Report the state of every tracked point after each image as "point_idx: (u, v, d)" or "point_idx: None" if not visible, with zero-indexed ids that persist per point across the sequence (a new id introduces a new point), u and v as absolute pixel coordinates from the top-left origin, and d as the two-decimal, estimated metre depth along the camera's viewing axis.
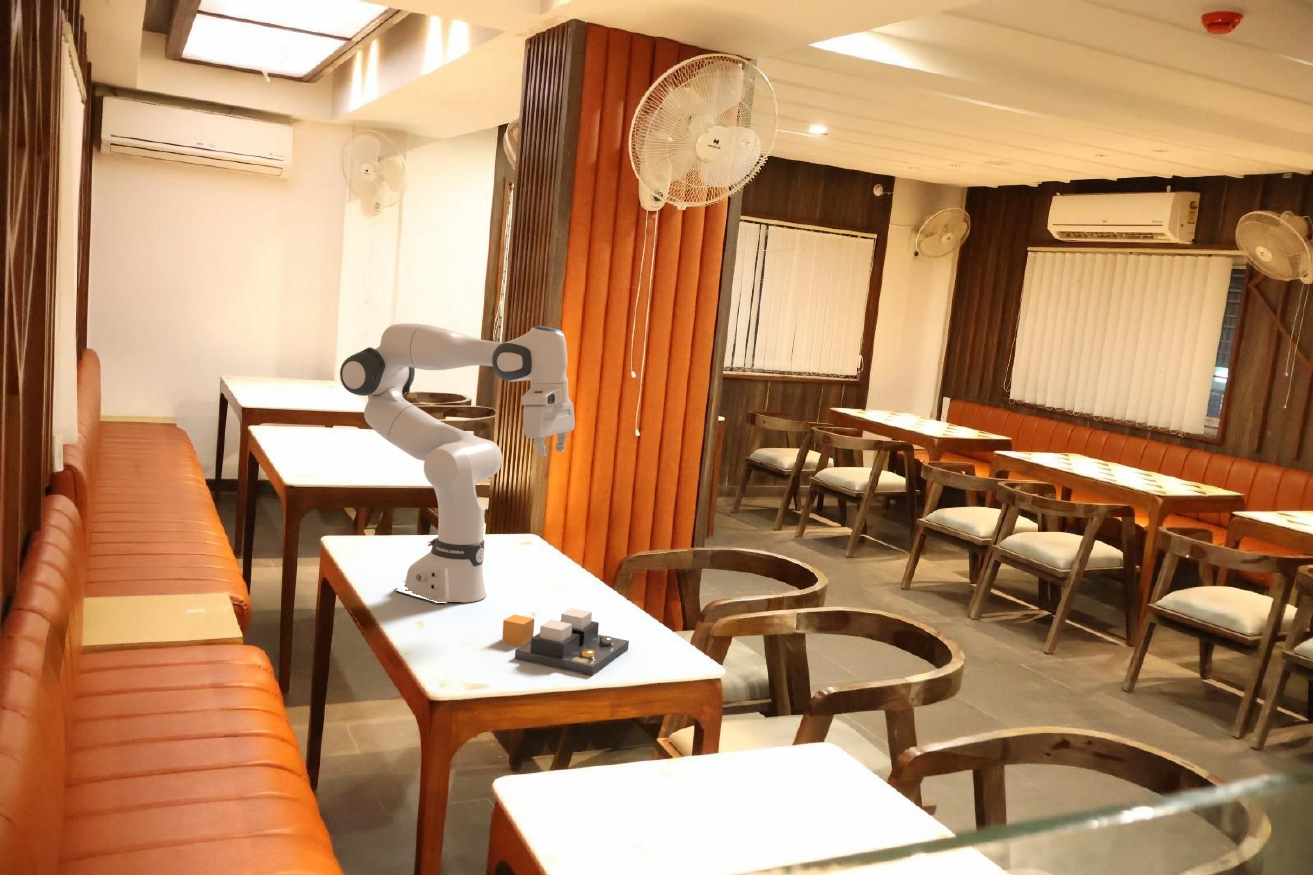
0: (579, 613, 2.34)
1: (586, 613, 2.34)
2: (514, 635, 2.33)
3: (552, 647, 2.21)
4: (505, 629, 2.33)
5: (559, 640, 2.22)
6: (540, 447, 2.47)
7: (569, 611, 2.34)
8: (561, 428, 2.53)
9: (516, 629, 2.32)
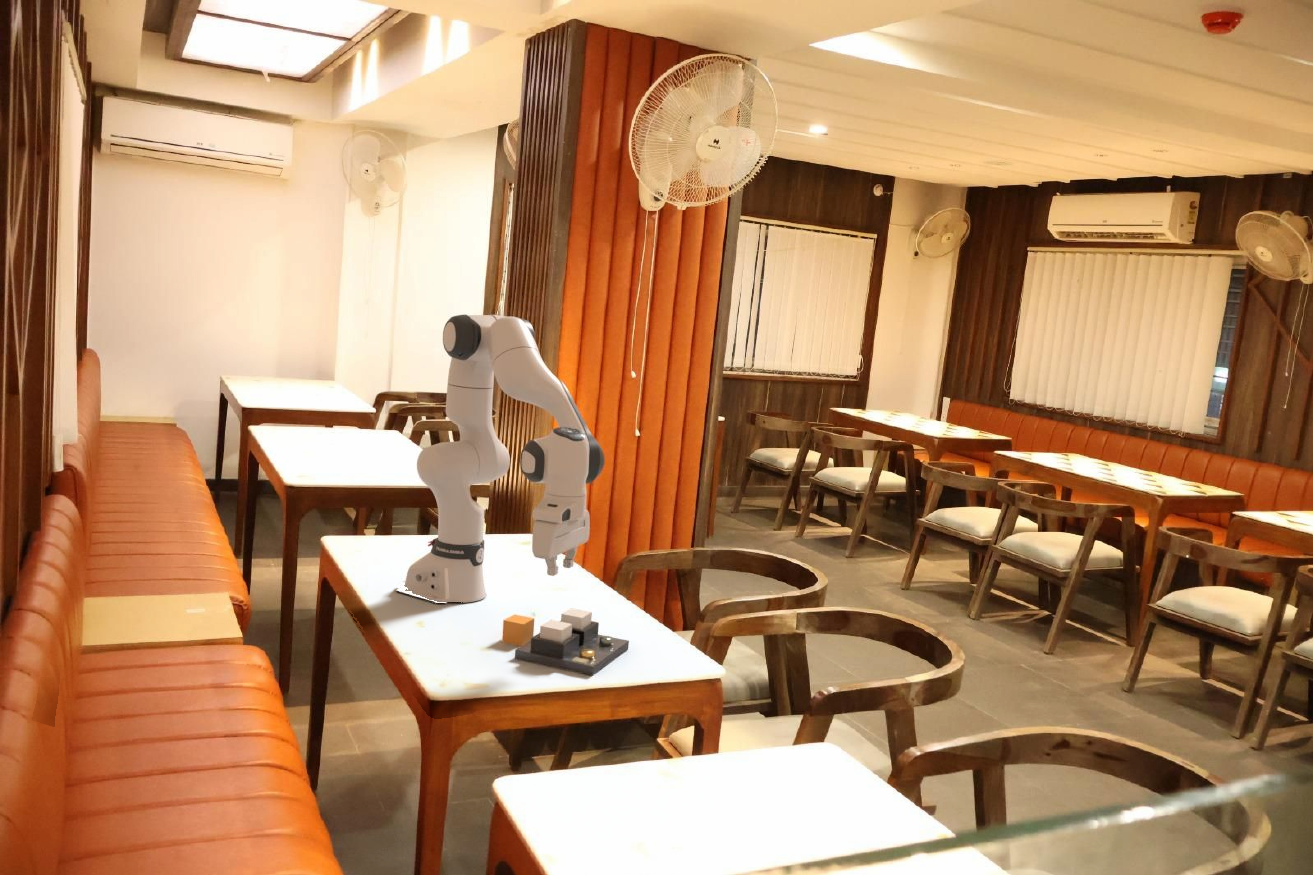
0: (579, 613, 2.34)
1: (586, 613, 2.34)
2: (514, 635, 2.33)
3: (552, 647, 2.21)
4: (505, 629, 2.33)
5: (559, 640, 2.22)
6: (550, 565, 2.18)
7: (569, 611, 2.34)
8: (573, 543, 2.23)
9: (516, 629, 2.32)
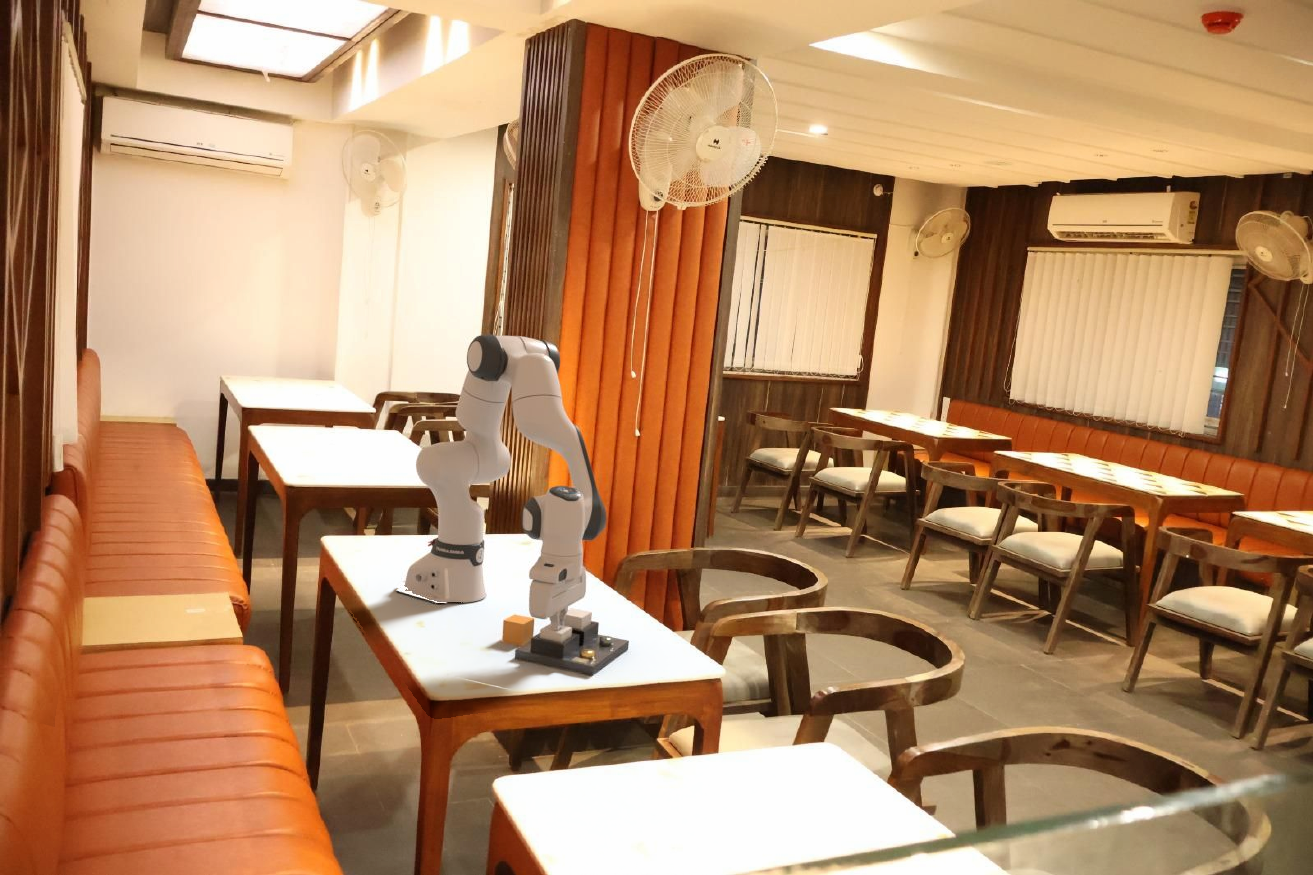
0: (579, 613, 2.34)
1: (586, 613, 2.34)
2: (514, 635, 2.33)
3: (552, 647, 2.21)
4: (505, 629, 2.33)
5: None
6: (553, 620, 2.23)
7: (569, 611, 2.34)
8: (570, 601, 2.25)
9: (516, 629, 2.32)
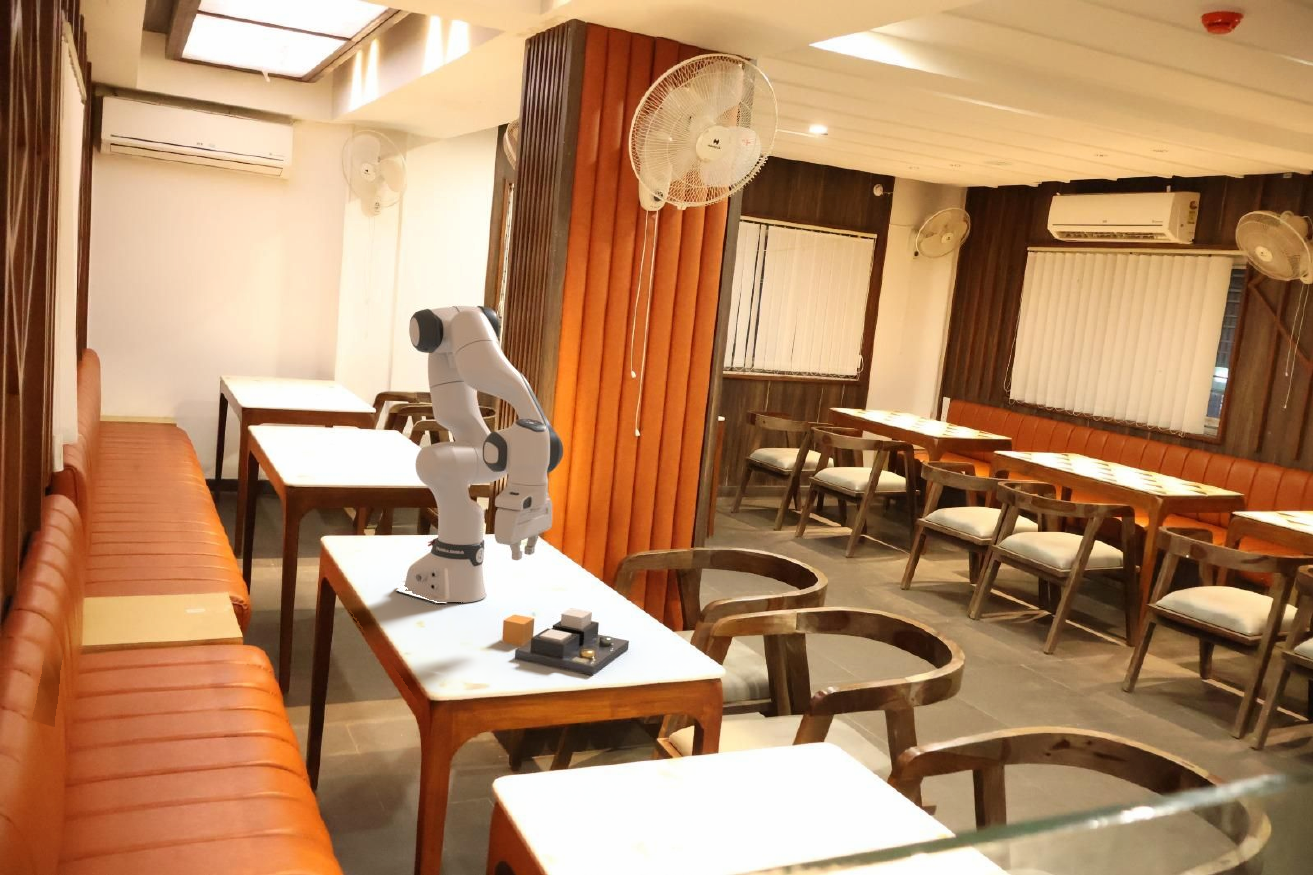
0: (579, 613, 2.34)
1: (586, 613, 2.34)
2: (514, 635, 2.33)
3: (552, 647, 2.21)
4: (505, 629, 2.33)
5: None
6: (514, 550, 2.29)
7: (569, 611, 2.34)
8: (535, 530, 2.33)
9: (516, 629, 2.32)
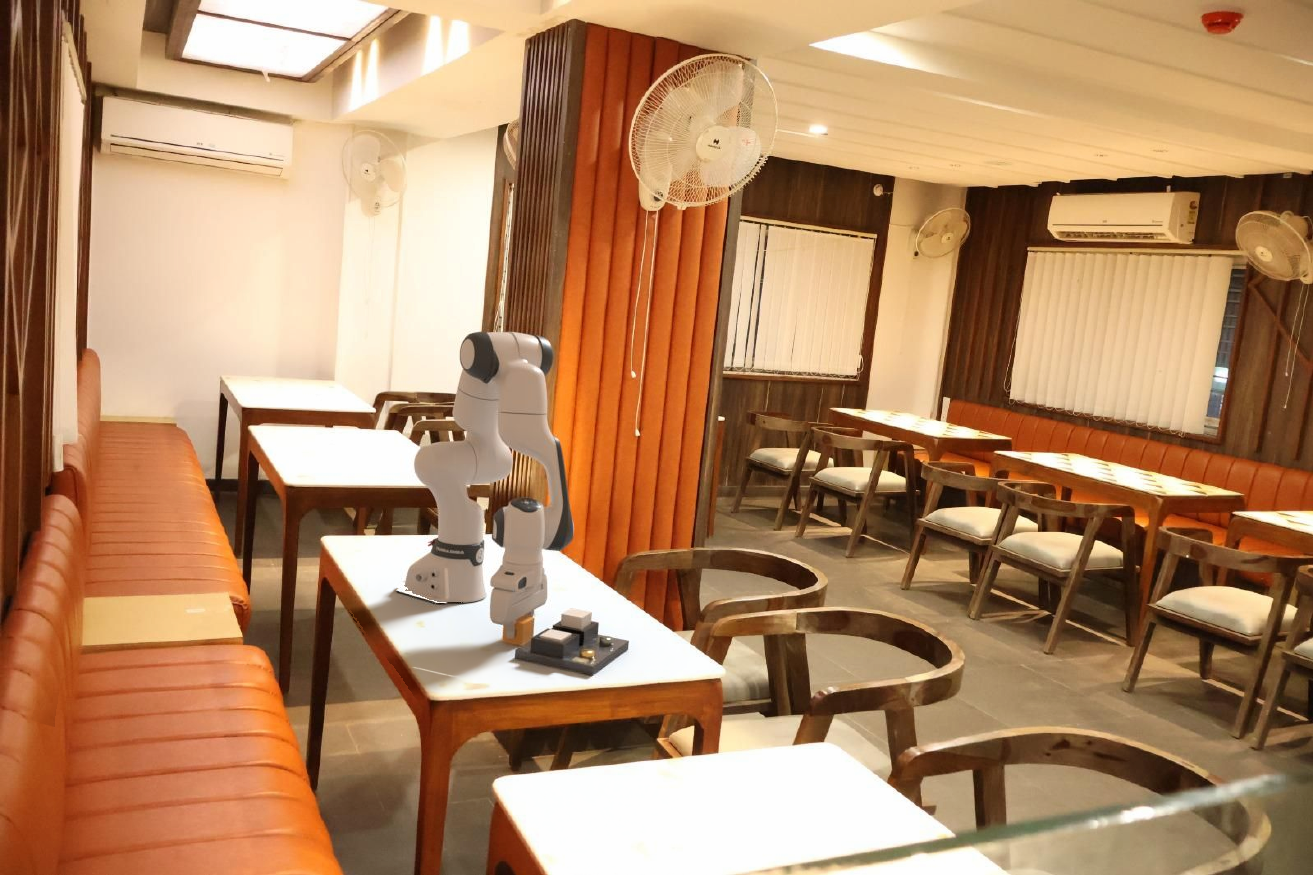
0: (579, 613, 2.34)
1: (586, 613, 2.34)
2: None
3: (552, 647, 2.21)
4: (505, 629, 2.33)
5: None
6: (509, 629, 2.31)
7: (569, 611, 2.34)
8: (531, 607, 2.35)
9: None
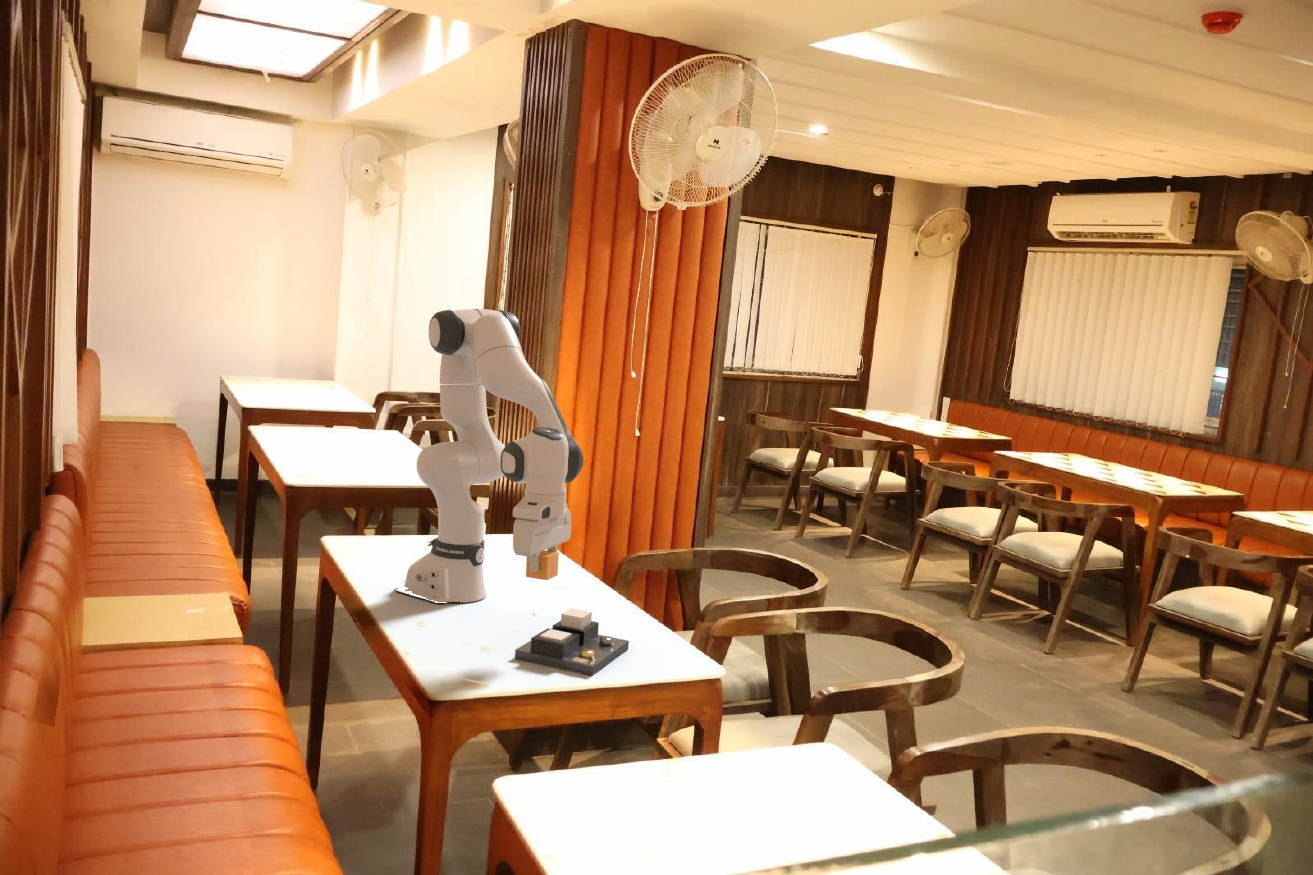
0: (579, 613, 2.34)
1: (586, 613, 2.34)
2: None
3: (552, 647, 2.21)
4: (528, 563, 2.25)
5: None
6: (533, 562, 2.23)
7: (569, 611, 2.34)
8: (554, 541, 2.28)
9: None
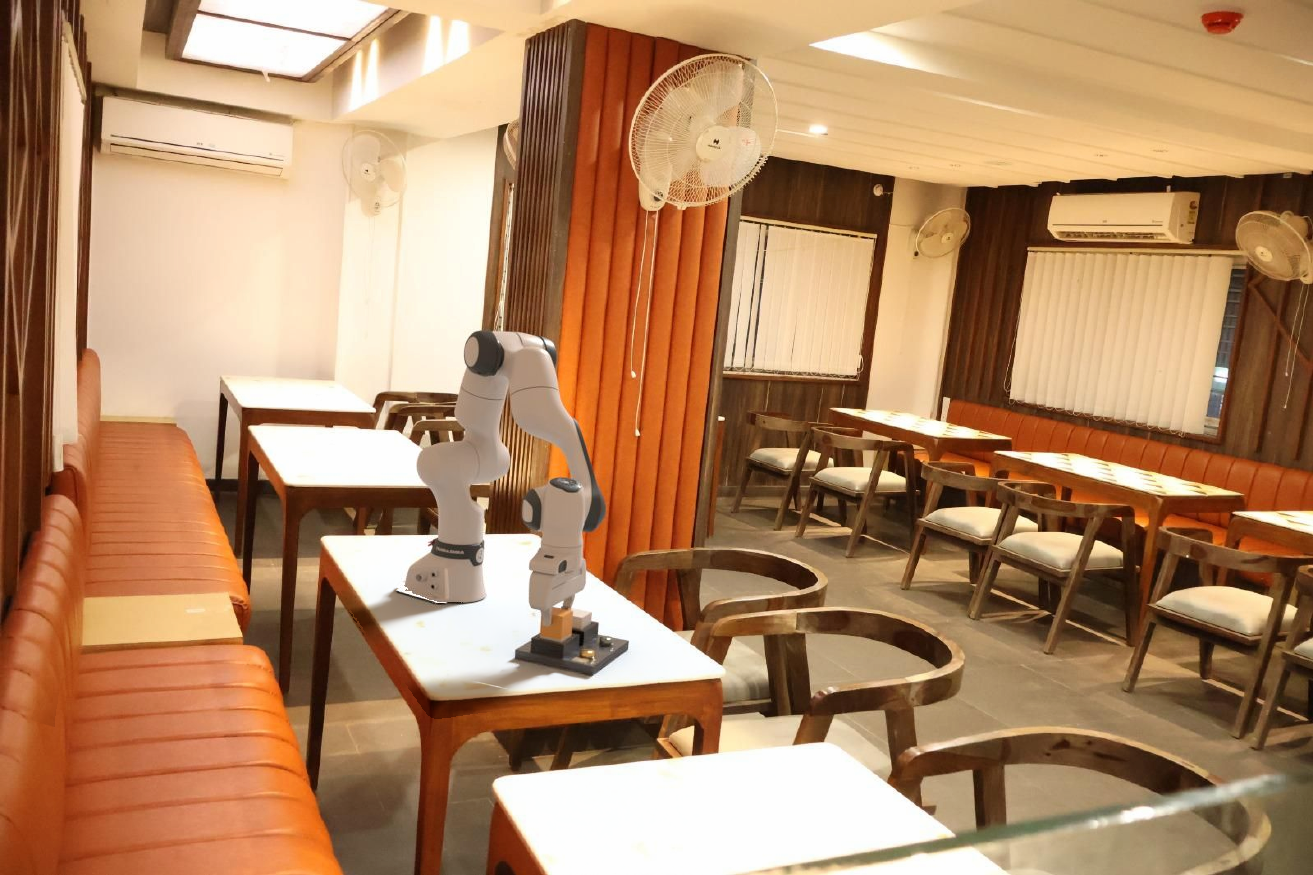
0: (579, 613, 2.34)
1: (586, 613, 2.34)
2: (552, 628, 2.22)
3: (552, 647, 2.21)
4: None
5: None
6: (545, 616, 2.19)
7: None
8: (570, 592, 2.25)
9: (555, 622, 2.22)
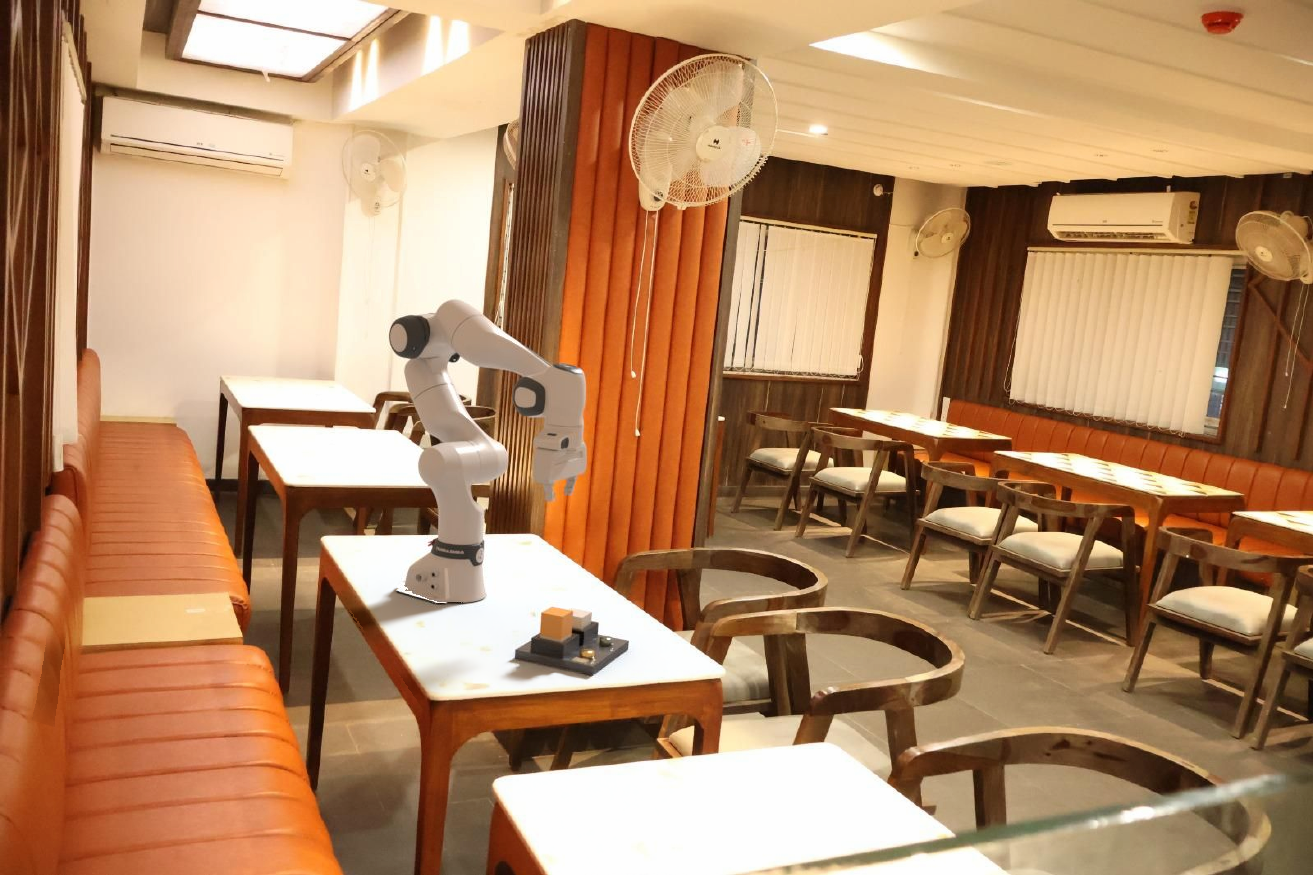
0: (579, 613, 2.34)
1: (586, 613, 2.34)
2: (552, 628, 2.22)
3: (552, 647, 2.21)
4: (543, 622, 2.23)
5: None
6: (548, 491, 2.34)
7: None
8: (571, 472, 2.40)
9: (555, 622, 2.22)
